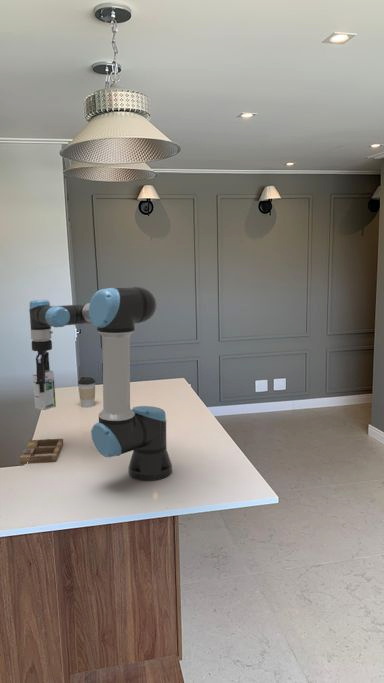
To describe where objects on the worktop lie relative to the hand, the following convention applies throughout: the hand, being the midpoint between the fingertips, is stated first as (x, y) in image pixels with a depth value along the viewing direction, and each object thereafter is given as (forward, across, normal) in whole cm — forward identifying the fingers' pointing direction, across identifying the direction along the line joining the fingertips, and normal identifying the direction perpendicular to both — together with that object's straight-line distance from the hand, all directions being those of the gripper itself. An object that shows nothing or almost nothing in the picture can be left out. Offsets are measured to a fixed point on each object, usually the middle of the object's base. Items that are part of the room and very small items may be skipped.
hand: (44, 397), depth 193 cm
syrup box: (+4, 0, 0) cm, 4 cm away
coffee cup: (+22, +64, -10) cm, 68 cm away
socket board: (+21, -4, +1) cm, 22 cm away
